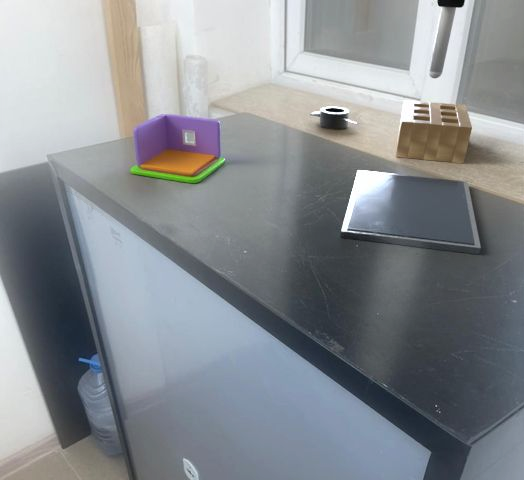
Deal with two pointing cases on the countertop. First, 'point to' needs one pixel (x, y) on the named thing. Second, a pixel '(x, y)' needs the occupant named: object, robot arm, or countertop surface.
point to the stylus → (441, 41)
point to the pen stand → (433, 131)
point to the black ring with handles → (333, 117)
